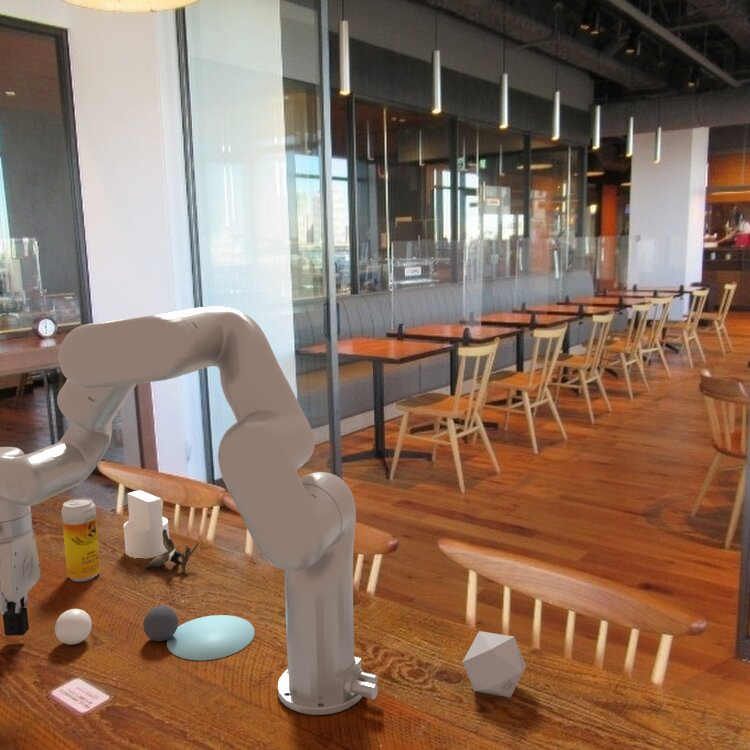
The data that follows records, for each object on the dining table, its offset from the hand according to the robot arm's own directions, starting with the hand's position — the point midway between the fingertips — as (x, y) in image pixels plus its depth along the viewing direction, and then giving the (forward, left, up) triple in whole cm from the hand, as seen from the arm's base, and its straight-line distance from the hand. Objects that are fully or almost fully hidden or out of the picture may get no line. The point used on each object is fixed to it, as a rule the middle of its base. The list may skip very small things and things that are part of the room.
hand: (17, 632), depth 120 cm
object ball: (-21, -11, +1) cm, 24 cm away
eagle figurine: (-2, -33, -2) cm, 33 cm away
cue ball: (-9, -4, +1) cm, 10 cm away
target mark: (-28, -15, -2) cm, 31 cm away
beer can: (+10, -22, -2) cm, 25 cm away
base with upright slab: (+8, -37, -2) cm, 38 cm away
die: (-74, -21, -2) cm, 77 cm away
